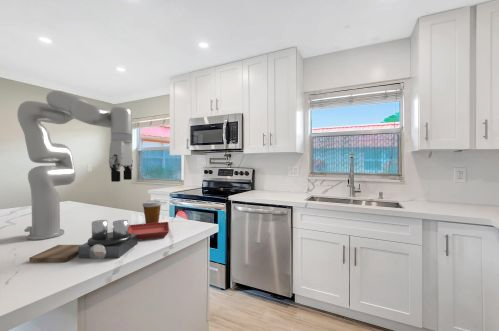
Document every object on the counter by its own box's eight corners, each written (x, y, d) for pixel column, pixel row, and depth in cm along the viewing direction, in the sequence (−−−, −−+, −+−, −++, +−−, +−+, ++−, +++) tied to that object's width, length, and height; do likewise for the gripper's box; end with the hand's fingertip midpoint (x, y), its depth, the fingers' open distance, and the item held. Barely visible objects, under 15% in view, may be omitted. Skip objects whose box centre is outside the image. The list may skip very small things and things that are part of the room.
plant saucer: (129, 231, 113) (129, 224, 113) (168, 227, 120) (168, 221, 119) (123, 243, 96) (123, 235, 96) (169, 238, 103) (169, 231, 103)
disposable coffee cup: (157, 226, 120) (157, 203, 120) (139, 226, 120) (138, 203, 120) (164, 221, 129) (164, 200, 129) (147, 221, 130) (147, 200, 129)
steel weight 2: (110, 239, 85) (109, 223, 85) (117, 235, 90) (117, 219, 90) (123, 239, 85) (123, 223, 85) (130, 235, 90) (130, 219, 90)
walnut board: (29, 262, 77) (29, 257, 77) (58, 248, 89) (58, 244, 89) (65, 262, 78) (65, 257, 78) (89, 248, 90) (89, 244, 90)
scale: (76, 261, 80) (76, 244, 80) (103, 245, 95) (102, 231, 95) (117, 261, 80) (117, 244, 80) (137, 245, 95) (137, 231, 95)
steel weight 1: (88, 239, 85) (88, 223, 85) (97, 235, 90) (97, 219, 90) (102, 239, 85) (102, 223, 85) (110, 235, 90) (110, 219, 90)
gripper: (122, 140, 103) (123, 179, 103) (99, 136, 86) (100, 182, 86) (139, 140, 103) (140, 178, 104) (120, 136, 86) (121, 182, 87)
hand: (122, 180), depth 95 cm, fingers open, 9 cm apart
